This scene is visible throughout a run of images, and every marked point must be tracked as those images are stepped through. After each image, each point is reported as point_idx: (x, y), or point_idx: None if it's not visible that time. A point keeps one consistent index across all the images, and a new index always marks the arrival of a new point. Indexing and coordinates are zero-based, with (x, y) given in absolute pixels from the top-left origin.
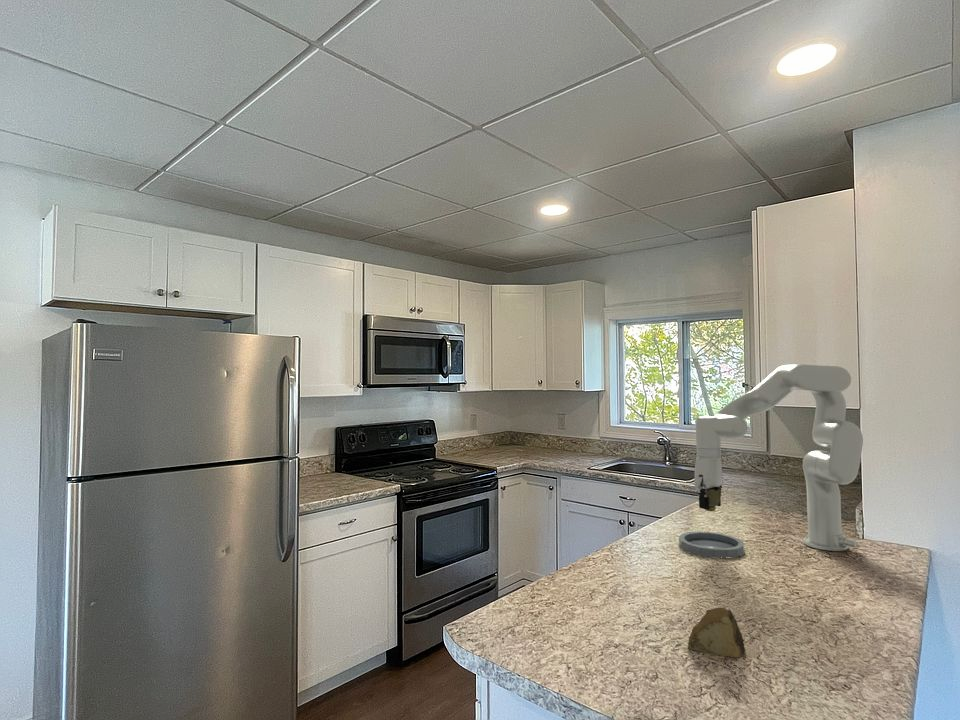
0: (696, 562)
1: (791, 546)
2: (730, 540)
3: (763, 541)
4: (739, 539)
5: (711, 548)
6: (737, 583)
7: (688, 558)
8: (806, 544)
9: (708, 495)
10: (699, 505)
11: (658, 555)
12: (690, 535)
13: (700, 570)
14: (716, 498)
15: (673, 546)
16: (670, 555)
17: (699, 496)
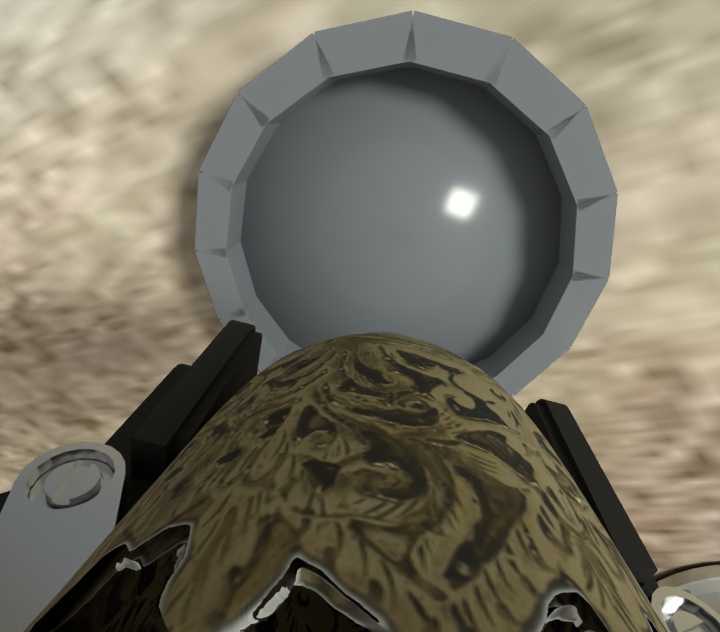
0: (107, 250)
1: (641, 529)
2: (524, 337)
3: (685, 439)
4: (511, 393)
5: (228, 307)
6: (35, 428)
7: (127, 196)
8: (680, 575)
9: (151, 608)
10: (218, 336)
11: (19, 9)
12: (476, 80)
13: (29, 295)
14: (272, 624)
15: (270, 15)
16: (86, 82)
17: (138, 439)
